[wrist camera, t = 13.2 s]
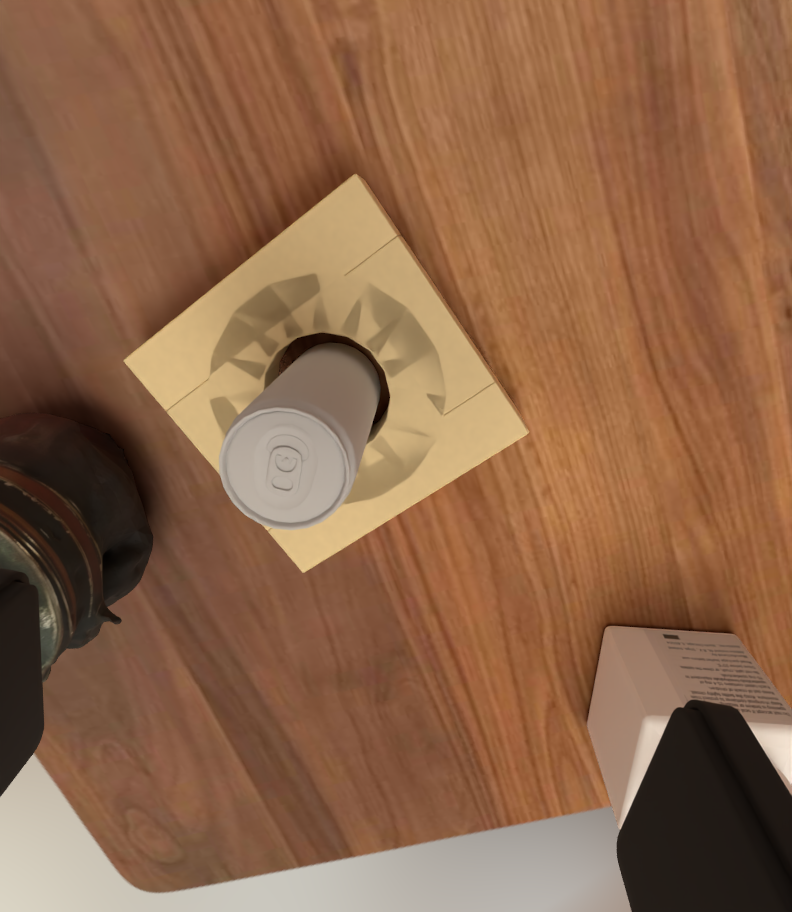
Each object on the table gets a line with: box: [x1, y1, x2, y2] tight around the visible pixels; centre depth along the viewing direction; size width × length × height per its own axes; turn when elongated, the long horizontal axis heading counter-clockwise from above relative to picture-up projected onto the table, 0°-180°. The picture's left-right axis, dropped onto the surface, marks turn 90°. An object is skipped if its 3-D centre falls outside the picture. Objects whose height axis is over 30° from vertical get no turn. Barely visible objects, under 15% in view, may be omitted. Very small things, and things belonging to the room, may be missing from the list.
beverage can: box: [219, 343, 381, 530], centre depth 27 cm, size 5×5×12 cm
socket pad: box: [124, 174, 529, 573], centre depth 31 cm, size 14×14×3 cm
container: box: [587, 626, 792, 830], centre depth 31 cm, size 8×8×13 cm
